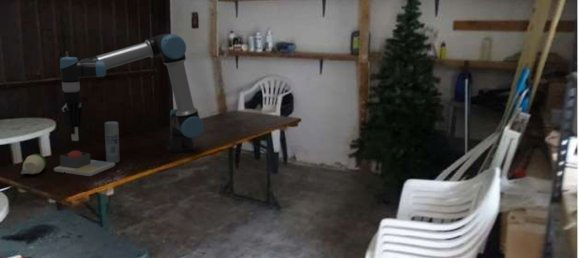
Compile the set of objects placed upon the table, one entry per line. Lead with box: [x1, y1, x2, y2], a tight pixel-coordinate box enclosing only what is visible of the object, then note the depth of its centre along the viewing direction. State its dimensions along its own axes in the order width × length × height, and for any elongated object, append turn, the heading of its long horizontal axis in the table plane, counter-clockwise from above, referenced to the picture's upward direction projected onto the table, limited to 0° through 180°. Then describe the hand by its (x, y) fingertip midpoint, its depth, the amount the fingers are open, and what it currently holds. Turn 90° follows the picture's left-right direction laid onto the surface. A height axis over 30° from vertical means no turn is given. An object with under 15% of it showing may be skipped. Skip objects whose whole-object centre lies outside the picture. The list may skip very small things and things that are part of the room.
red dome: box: [67, 150, 83, 158], centre depth 234 cm, size 7×7×7 cm
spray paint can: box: [104, 121, 121, 164], centre depth 245 cm, size 6×6×20 cm
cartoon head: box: [20, 153, 47, 175], centre depth 225 cm, size 9×10×20 cm
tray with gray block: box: [53, 151, 116, 177], centre depth 234 cm, size 20×18×6 cm
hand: (75, 140), depth 232 cm, fingers closed
